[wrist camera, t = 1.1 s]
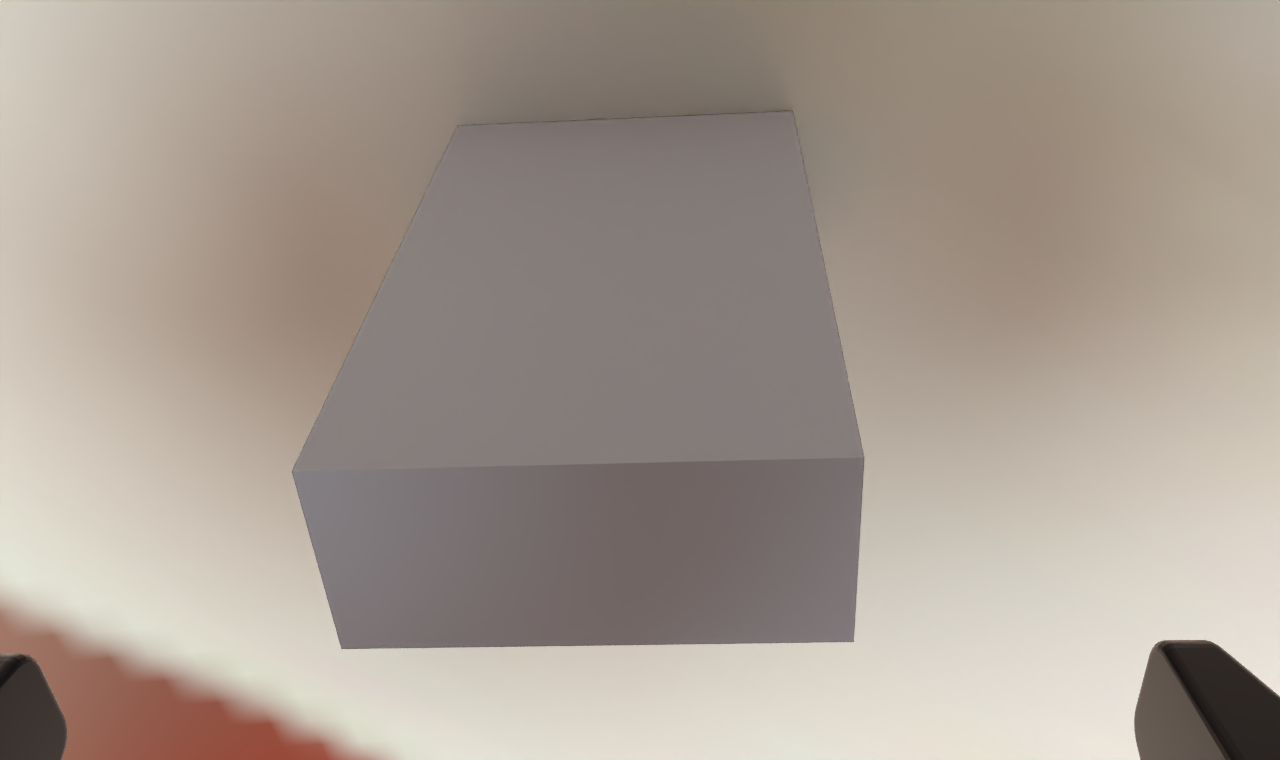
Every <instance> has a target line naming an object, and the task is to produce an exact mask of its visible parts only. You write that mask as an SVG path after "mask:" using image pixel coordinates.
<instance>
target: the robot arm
mask: <svg viewBox="0 0 1280 760" xmlns="http://www.w3.org/2000/svg"><path fill="white" fill-rule="evenodd" d="M1134 726H1135V737H1136V742H1137V747H1138V751H1139V755H1140V759H1141V760H1280V696H1279V695H1277V694H1276V693H1275V692H1274V691H1273V690H1271V689H1270V688H1269V687H1268V686H1267V685H1265V684H1264V683H1263V682H1262V681H1261V680H1259V679H1258V678H1257V677H1256V676H1255V675H1253V674H1252V673H1251V672H1250V671H1249V670H1247V669H1246V668H1245V667H1244V666H1243V665H1242V664H1240V663H1239V662H1238V661H1237V660H1236V659H1234V658H1233V657H1232V656H1231V655H1230V654H1228V653H1227V652H1226V651H1225V650H1224V649H1222V648H1221V647H1220V646H1218V645H1216V644H1214V643H1212V642H1210V641H1206V640H1164V641H1161V642H1158V643H1157V644H1156V645H1155V646H1154V647H1153V648H1152V651H1151V653H1150V656H1149V659H1148V663H1147V667H1146V671H1145V675H1144V679H1143V683H1142V687H1141V690H1140V694H1139V698H1138V702H1137V706H1136V710H1135V719H1134ZM66 739H67V727H66V721H65V718H64V715H63V713H62V711H61V709H60V707H59V705H58V703H57V701H56V699H55V697H54V694H53V692H52V690H51V688H50V686H49V684H48V682H47V680H46V678H45V676H44V674H43V672H42V670H41V668H40V666H39V664H38V663H37V661H35V659H33V658H32V657H30V656H29V655H26V654H0V760H62V757H63V754H64V751H65V747H66Z"/></svg>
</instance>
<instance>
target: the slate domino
mask: <svg viewBox="0 0 1280 760" xmlns="http://www.w3.org/2000/svg"><path fill="white" fill-rule="evenodd" d="M863 470H864V454H863V449H862V444H861V439H860V435H859V430H858V425H857V420H856V415H855V410H854V405H853V401H852V396H851V391H850V386H849V381H848V376H847V372H846V367H845V362H844V357H843V352H842V347H841V342H840V338H839V333H838V328H837V323H836V318H835V313H834V309H833V304H832V299H831V294H830V289H829V284H828V279H827V275H826V270H825V265H824V260H823V255H822V250H821V246H820V241H819V236H818V231H817V226H816V221H815V216H814V212H813V207H812V202H811V197H810V192H809V187H808V183H807V178H806V173H805V168H804V163H803V158H802V153H801V149H800V144H799V139H798V134H797V129H796V124H795V120H794V115H793V111H783V112H760V113H737V114H714V115H691V116H668V117H645V118H622V119H599V120H576V121H553V122H530V123H507V124H484V125H461V126H457V128H456V130H455V132H454V134H453V136H452V138H451V140H450V142H449V144H448V146H447V149H446V151H445V153H444V155H443V157H442V159H441V161H440V163H439V165H438V167H437V169H436V171H435V174H434V176H433V178H432V180H431V182H430V184H429V186H428V188H427V190H426V192H425V194H424V197H423V199H422V201H421V203H420V205H419V207H418V209H417V211H416V213H415V215H414V217H413V219H412V222H411V224H410V226H409V228H408V230H407V232H406V234H405V236H404V238H403V240H402V242H401V244H400V247H399V249H398V251H397V253H396V255H395V257H394V259H393V261H392V263H391V265H390V267H389V270H388V272H387V274H386V276H385V278H384V280H383V282H382V284H381V286H380V288H379V290H378V292H377V295H376V297H375V299H374V301H373V303H372V305H371V307H370V309H369V311H368V313H367V315H366V318H365V320H364V322H363V324H362V326H361V328H360V330H359V332H358V334H357V336H356V338H355V340H354V343H353V345H352V347H351V349H350V351H349V353H348V355H347V357H346V359H345V361H344V363H343V365H342V368H341V370H340V372H339V374H338V376H337V378H336V380H335V382H334V384H333V386H332V388H331V391H330V393H329V395H328V397H327V399H326V401H325V403H324V405H323V407H322V409H321V411H320V413H319V416H318V418H317V420H316V422H315V424H314V426H313V428H312V430H311V432H310V434H309V436H308V438H307V441H306V443H305V445H304V447H303V449H302V451H301V453H300V455H299V457H298V459H297V461H296V464H295V466H294V468H293V470H292V474H293V477H294V481H295V484H296V488H297V492H298V495H299V499H300V502H301V506H302V509H303V513H304V517H305V520H306V524H307V527H308V531H309V534H310V538H311V542H312V545H313V549H314V552H315V556H316V559H317V563H318V567H319V570H320V574H321V577H322V581H323V584H324V588H325V592H326V595H327V599H328V602H329V606H330V609H331V613H332V617H333V620H334V624H335V627H336V631H337V634H338V638H339V642H340V645H341V649H371V648H444V647H517V646H590V645H663V644H736V643H809V642H854V628H855V611H856V593H857V575H858V558H859V540H860V523H861V505H862V488H863Z"/></svg>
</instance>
